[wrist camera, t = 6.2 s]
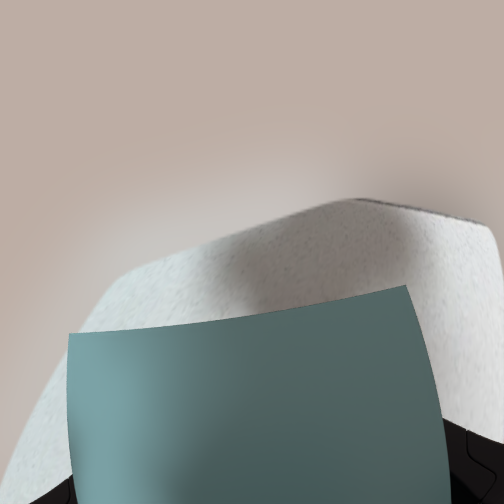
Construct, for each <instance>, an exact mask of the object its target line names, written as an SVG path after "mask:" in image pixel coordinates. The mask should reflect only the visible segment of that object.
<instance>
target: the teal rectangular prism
mask: <svg viewBox="0 0 504 504" xmlns="http://www.w3.org/2000/svg"><path fill="white" fill-rule="evenodd" d="M67 422H68V437H69V448H70V458H71V466H72V473H73V479H74V485H75V491H76V496H77V501H78V504H451V488H450V473H449V463H448V454H447V446H446V438H445V432H444V425H443V419H442V414H441V408H440V403H439V398H438V394H437V389H436V384H435V380H434V376H433V372H432V368H431V364H430V360H429V356H428V353H427V349H426V345H425V342H424V338H423V335H422V332H421V328H420V325H419V322H418V319H417V316H416V313H415V310H414V307H413V304H412V301H411V298H410V295H409V292H408V290H407V287H406V285H403V286H399V287H395V288H391V289H386V290H382V291H378V292H373V293H369V294H364V295H359V296H355V297H350V298H345V299H340V300H335V301H330V302H325V303H320V304H315V305H310V306H304V307H299V308H293V309H287V310H281V311H275V312H269V313H263V314H257V315H250V316H244V317H237V318H230V319H223V320H215V321H208V322H200V323H191V324H183V325H174V326H164V327H154V328H144V329H132V330H120V331H106V332H90V333H71V334H69V342H68V358H67Z"/></svg>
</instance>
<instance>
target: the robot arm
mask: <svg viewBox="0 0 504 504" xmlns="http://www.w3.org/2000/svg"><path fill="white" fill-rule="evenodd" d="M442 419H443V425H444V432H445V438H446V446H447V454H448V463H449V473H450V488H451V504H504V444H502V443H499V442H496V441H493V440H490V439H488V438H485V437H483V436H481V435H478V434H476V433H474V432H472V431H469V430H467V431H466V429H465V428H463V427H461V426H459V425H456V424H454V423H452V422H450V421H448V420H446V419H444V418H442ZM30 504H78V501H77V496H76V491H75V485H74V479H73V474H72V475H71V476H70V477H69V479H68V478H67V479H66V480H64V481H63V482H62V483H60V484H59V485H58V486H56V487H55V488H53V489H52V490H51V491H49V492H48V493H46V494H45V495H43V496H41V497H40V498H38V499H37V500H35V501H33V502H31V503H30Z"/></svg>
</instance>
